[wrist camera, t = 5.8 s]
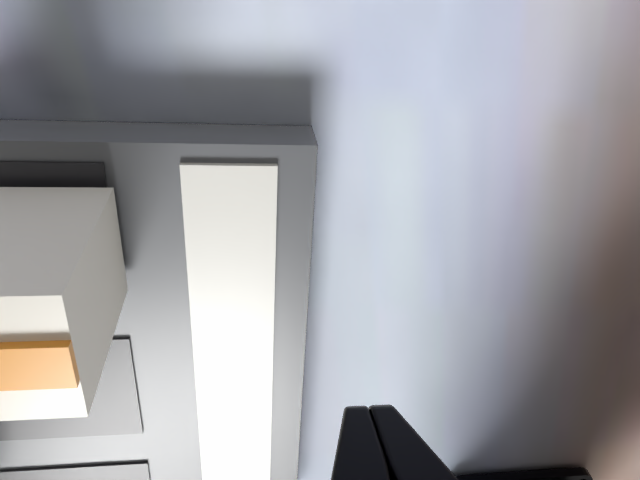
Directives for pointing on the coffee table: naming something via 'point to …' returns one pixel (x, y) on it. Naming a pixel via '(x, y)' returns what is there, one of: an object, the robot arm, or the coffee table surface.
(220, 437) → the breaker panel
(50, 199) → the block
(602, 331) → the coffee table surface
